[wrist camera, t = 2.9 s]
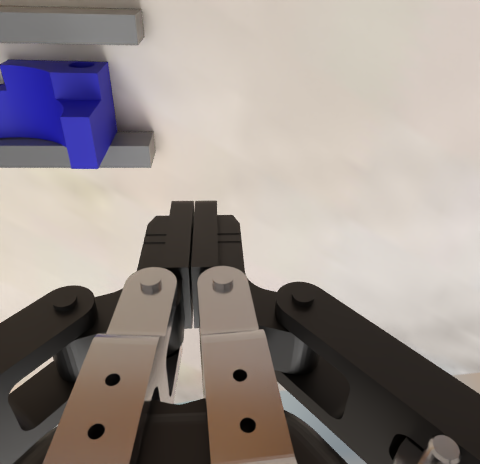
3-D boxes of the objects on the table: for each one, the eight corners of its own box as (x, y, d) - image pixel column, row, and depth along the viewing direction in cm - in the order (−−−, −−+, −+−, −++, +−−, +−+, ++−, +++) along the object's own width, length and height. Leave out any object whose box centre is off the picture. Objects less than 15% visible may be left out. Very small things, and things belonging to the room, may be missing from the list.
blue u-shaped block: (108, 61, 26) (83, 88, 21) (117, 130, 28) (98, 168, 24) (-93, 56, 25) (-167, 84, 20) (-64, 127, 28) (-124, 167, 23)
